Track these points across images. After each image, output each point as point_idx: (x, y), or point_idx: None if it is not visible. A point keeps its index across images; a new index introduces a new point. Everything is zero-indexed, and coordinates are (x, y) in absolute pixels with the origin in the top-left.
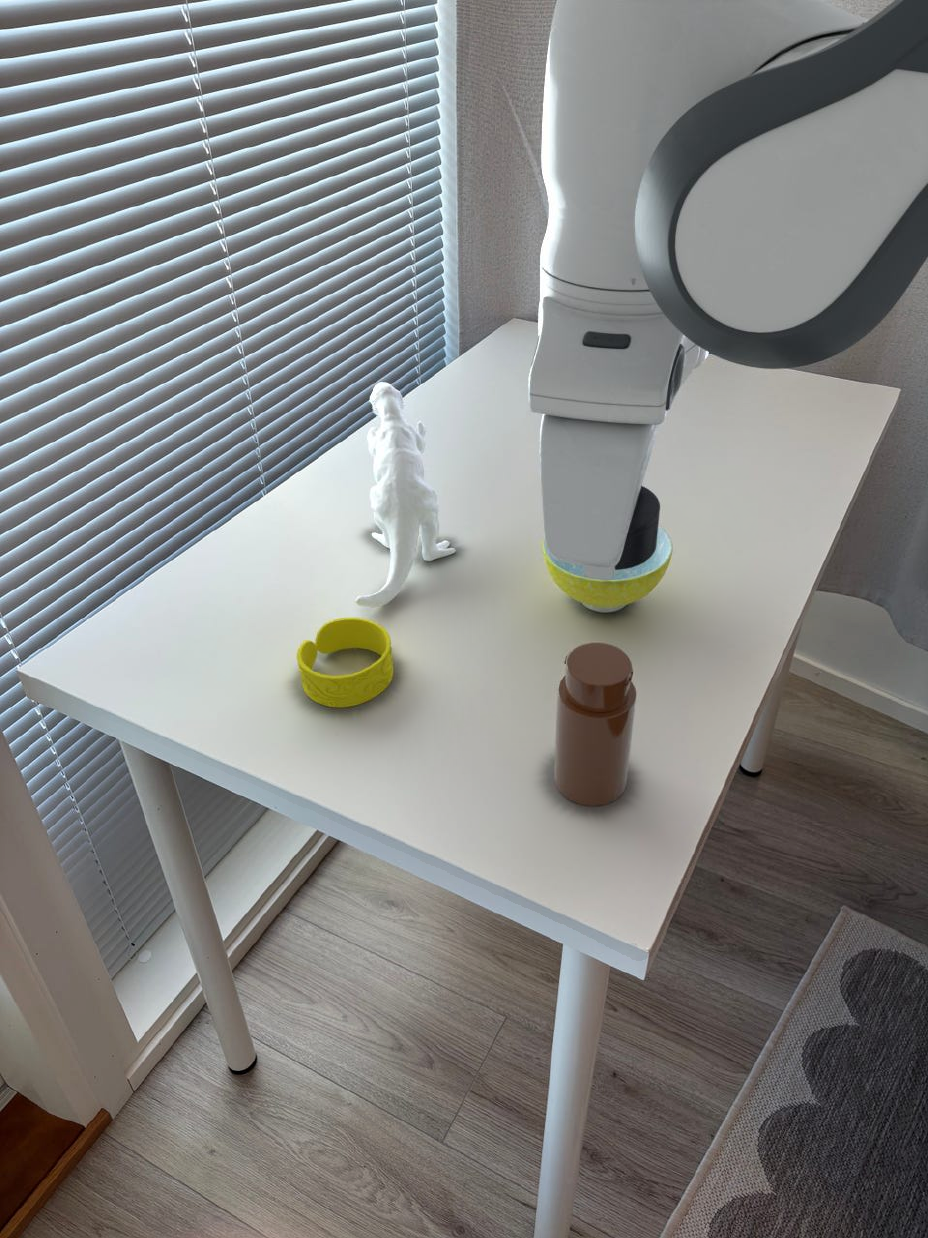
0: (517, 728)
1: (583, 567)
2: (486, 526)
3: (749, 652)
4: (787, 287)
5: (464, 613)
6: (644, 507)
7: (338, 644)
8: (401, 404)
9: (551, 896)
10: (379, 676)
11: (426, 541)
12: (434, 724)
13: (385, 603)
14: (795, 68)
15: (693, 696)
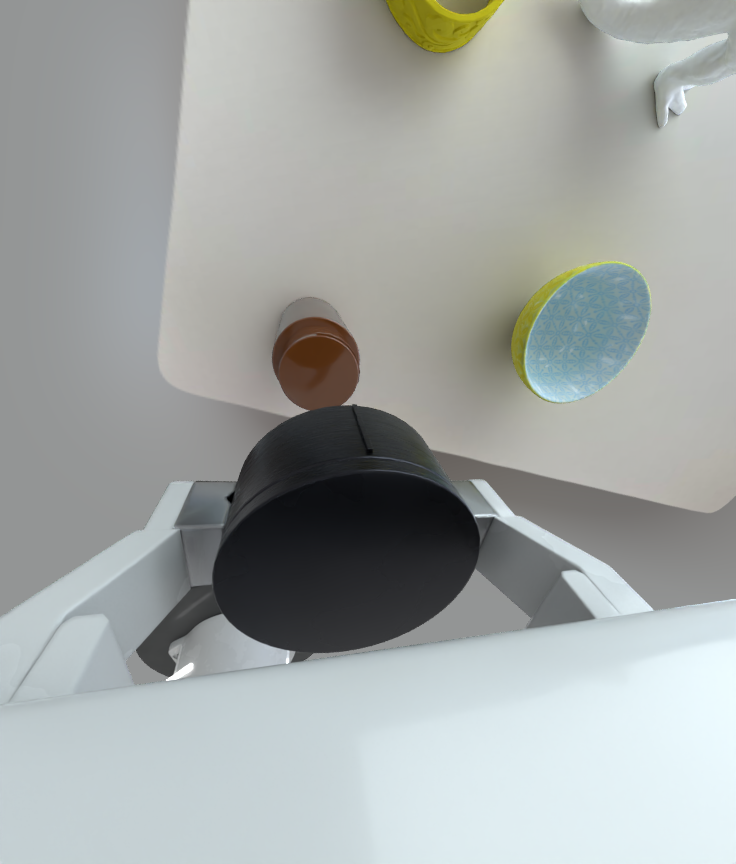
0: (363, 252)
1: (164, 493)
2: (692, 171)
3: (459, 440)
4: None
5: (542, 159)
6: (347, 631)
7: None
8: None
9: (171, 307)
10: (417, 17)
11: (689, 63)
12: (359, 140)
13: (581, 5)
14: None
15: (413, 405)
